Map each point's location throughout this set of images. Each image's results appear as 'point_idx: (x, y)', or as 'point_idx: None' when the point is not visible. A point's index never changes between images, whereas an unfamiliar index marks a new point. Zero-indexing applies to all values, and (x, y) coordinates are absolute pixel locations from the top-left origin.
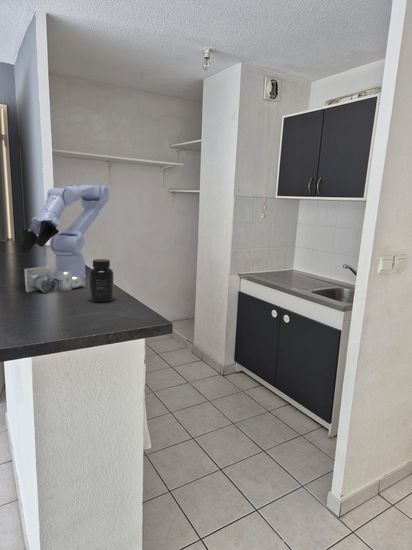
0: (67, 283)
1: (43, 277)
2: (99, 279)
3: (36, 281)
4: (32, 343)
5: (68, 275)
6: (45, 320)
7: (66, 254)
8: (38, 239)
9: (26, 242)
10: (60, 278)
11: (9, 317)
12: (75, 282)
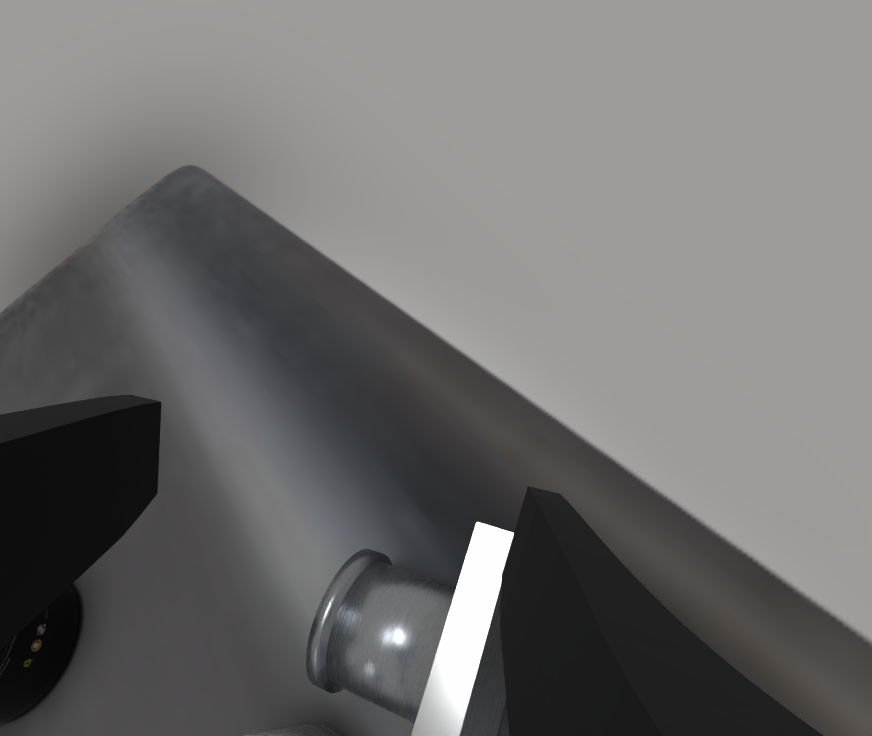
0: None
1: (374, 619)
2: None
3: (433, 586)
4: (143, 196)
5: None
6: (176, 298)
7: None
8: (79, 407)
9: (554, 616)
10: (271, 734)
11: (297, 254)
12: None
